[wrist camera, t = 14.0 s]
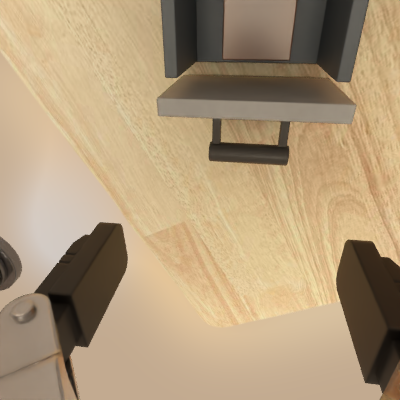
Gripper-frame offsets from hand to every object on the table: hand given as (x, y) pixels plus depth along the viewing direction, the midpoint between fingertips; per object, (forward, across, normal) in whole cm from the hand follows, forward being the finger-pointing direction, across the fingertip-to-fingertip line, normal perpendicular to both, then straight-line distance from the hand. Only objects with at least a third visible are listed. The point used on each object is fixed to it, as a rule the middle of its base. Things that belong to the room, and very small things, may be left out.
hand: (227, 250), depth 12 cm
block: (+19, -1, -7) cm, 20 cm away
